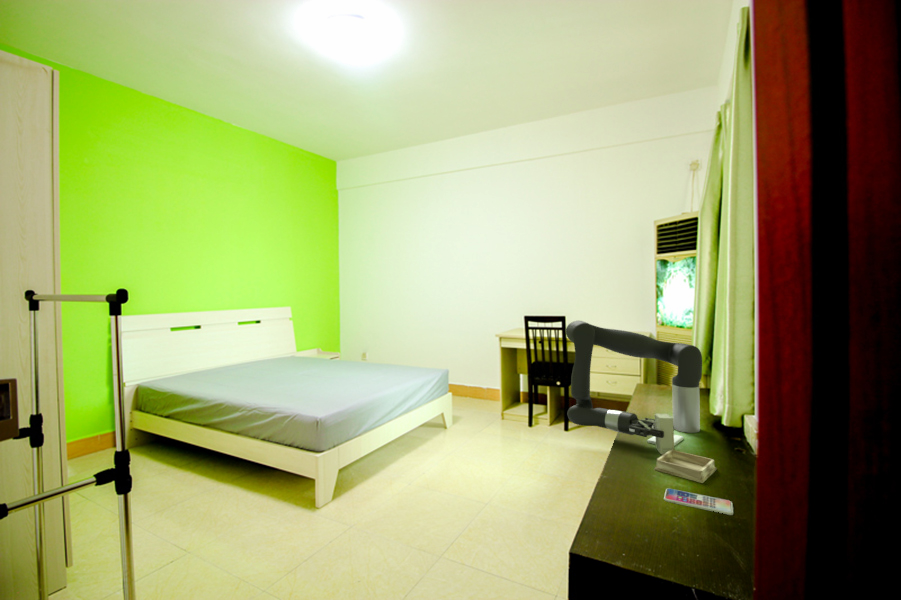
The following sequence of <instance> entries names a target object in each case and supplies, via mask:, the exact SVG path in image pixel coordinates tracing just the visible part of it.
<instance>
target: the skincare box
mask: <svg viewBox="0 0 901 600" xmlns="http://www.w3.org/2000/svg"><path fill="white" fill-rule="evenodd" d="M654 419H655V429H656V430H661V431H664V437H663V438H659V437H656V444H655V449H656V450H657V451H658V453H659V454H660V455H664V454H665V453H666V452H668V451H669V450H675V446H674V435H675V434H674V431H675V430H674V431H673V416H672V415H670V414H669V413H657V412H656V413H654Z"/></svg>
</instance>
